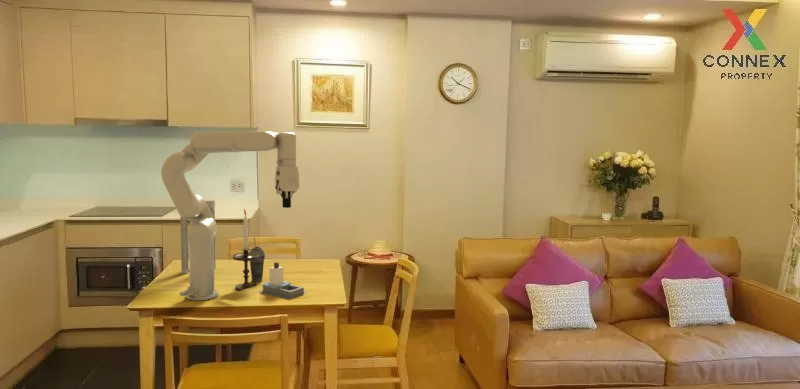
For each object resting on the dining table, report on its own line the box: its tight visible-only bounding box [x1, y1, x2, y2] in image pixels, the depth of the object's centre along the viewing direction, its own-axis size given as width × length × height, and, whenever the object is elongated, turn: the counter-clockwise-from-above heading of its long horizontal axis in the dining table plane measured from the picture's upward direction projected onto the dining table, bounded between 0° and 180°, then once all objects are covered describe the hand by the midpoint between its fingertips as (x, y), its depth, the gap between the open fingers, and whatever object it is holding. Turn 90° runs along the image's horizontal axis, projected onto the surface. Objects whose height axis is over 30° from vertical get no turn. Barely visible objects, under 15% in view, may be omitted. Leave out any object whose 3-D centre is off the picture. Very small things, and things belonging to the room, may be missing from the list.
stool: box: [179, 196, 217, 275], centre depth 272 cm, size 16×16×35 cm
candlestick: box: [232, 208, 259, 291], centre depth 246 cm, size 11×11×35 cm
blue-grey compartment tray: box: [259, 280, 309, 300], centre depth 239 cm, size 12×17×4 cm
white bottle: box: [269, 262, 284, 286], centre depth 241 cm, size 4×4×12 cm
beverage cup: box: [248, 236, 266, 283], centre depth 259 cm, size 7×7×20 cm
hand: (286, 207), depth 235 cm, fingers closed
